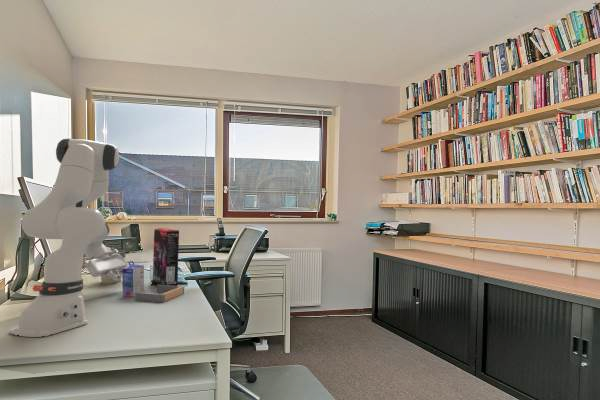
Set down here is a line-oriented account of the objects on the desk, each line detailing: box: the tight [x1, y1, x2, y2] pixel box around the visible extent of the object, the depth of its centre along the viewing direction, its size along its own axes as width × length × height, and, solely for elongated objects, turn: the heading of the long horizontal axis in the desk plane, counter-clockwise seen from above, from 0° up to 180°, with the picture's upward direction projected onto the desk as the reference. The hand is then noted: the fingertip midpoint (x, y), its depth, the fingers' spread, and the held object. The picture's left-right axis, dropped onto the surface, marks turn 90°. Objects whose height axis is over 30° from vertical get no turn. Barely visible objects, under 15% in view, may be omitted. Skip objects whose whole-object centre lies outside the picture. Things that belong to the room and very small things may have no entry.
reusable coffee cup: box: [100, 249, 126, 284], centre depth 206 cm, size 13×13×15 cm
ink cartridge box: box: [121, 260, 145, 298], centre depth 180 cm, size 10×6×14 cm, turn 174°
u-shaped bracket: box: [134, 284, 185, 303], centre depth 177 cm, size 17×13×3 cm
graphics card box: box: [152, 227, 180, 286], centre depth 201 cm, size 17×7×27 cm, turn 40°
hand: (118, 279), depth 182 cm, fingers closed
